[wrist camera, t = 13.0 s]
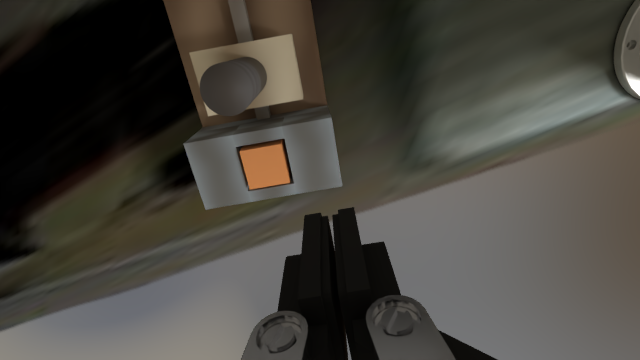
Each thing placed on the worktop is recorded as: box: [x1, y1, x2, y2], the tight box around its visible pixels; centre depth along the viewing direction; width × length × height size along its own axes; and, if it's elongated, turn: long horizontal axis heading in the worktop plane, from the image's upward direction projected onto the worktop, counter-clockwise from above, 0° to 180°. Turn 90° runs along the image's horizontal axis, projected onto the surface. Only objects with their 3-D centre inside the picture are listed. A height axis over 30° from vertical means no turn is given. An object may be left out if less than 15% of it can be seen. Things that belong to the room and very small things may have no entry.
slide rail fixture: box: [163, 0, 342, 209], centre depth 28 cm, size 12×22×7 cm, turn 10°
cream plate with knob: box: [189, 34, 303, 116], centre depth 24 cm, size 8×5×10 cm, turn 100°
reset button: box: [239, 139, 291, 189], centre depth 29 cm, size 3×3×3 cm
